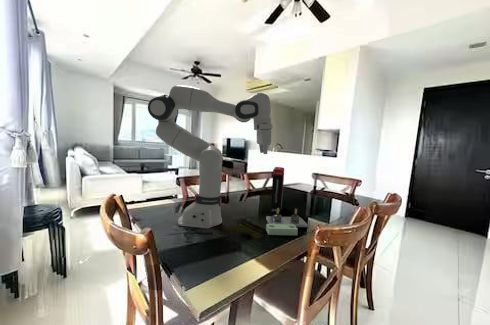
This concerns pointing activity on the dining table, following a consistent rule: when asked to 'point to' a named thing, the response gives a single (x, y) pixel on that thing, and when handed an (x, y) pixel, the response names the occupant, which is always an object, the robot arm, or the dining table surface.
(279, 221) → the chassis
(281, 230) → the board
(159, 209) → the dining table surface
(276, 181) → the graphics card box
